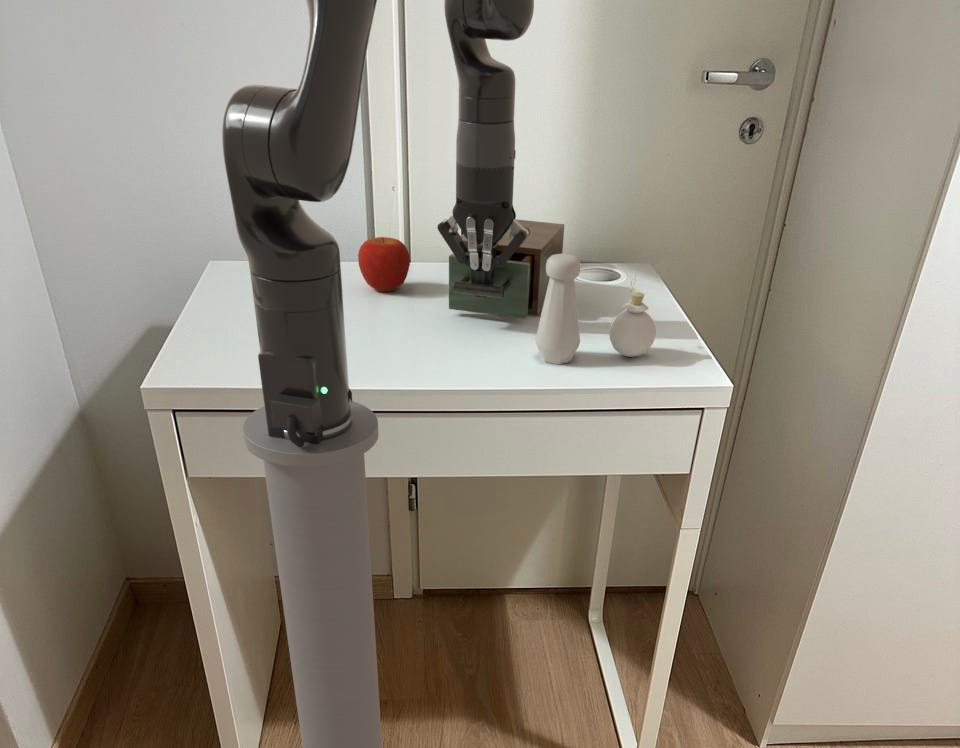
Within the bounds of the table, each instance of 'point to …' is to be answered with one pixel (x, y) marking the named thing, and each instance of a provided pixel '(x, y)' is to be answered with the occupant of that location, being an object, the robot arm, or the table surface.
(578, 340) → the salt shaker
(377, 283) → the apple
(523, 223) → the cabinet
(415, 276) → the table surface
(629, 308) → the ornament
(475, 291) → the drawer
